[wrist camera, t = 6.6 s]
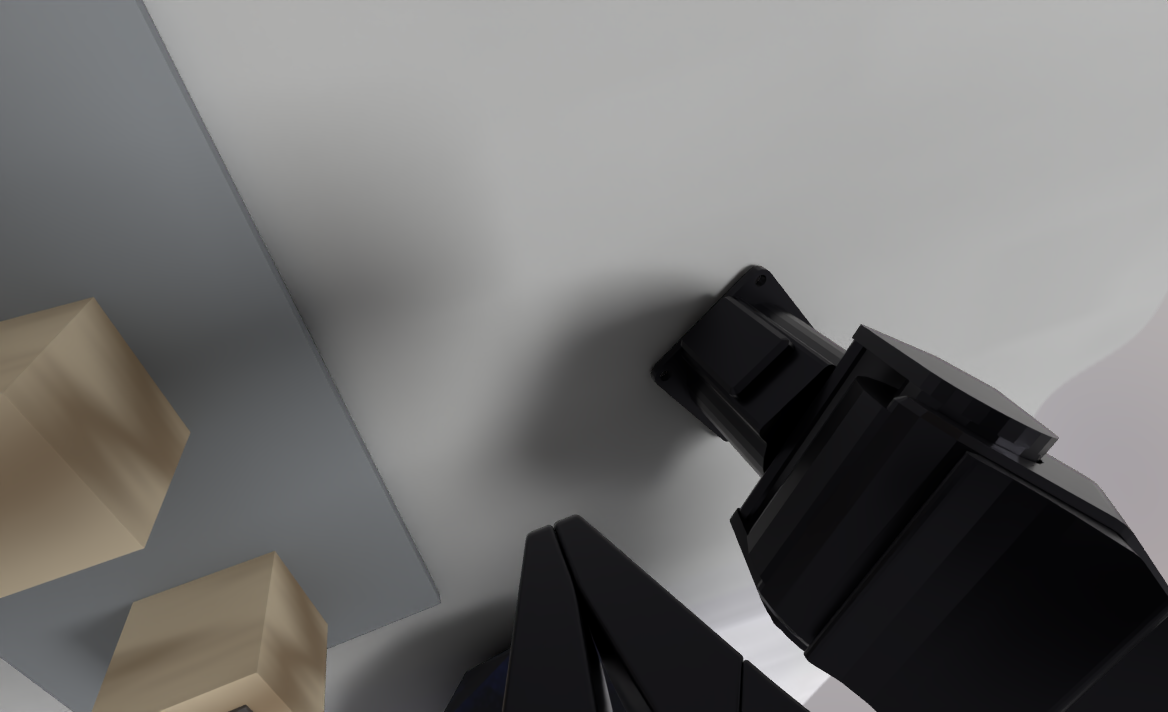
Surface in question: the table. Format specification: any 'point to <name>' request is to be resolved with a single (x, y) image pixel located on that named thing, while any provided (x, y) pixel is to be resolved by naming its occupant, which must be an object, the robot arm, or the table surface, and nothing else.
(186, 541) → the mat
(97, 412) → the plain block
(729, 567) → the table surface
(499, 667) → the decorative orb
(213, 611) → the marked block
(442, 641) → the table surface
